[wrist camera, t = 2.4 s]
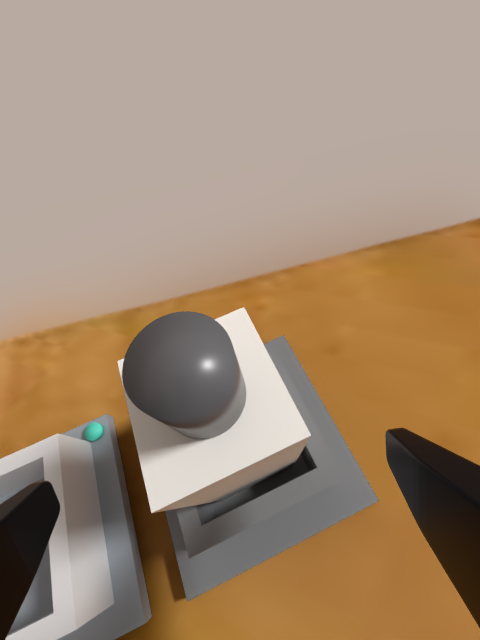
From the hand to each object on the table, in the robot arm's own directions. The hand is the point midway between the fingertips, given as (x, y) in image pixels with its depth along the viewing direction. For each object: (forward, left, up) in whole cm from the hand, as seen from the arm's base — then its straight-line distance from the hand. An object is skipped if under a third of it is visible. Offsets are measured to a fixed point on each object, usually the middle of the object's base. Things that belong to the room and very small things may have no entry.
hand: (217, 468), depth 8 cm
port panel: (+2, +11, -10) cm, 15 cm away
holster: (+2, -1, -10) cm, 10 cm away
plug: (+2, -1, -9) cm, 9 cm away
